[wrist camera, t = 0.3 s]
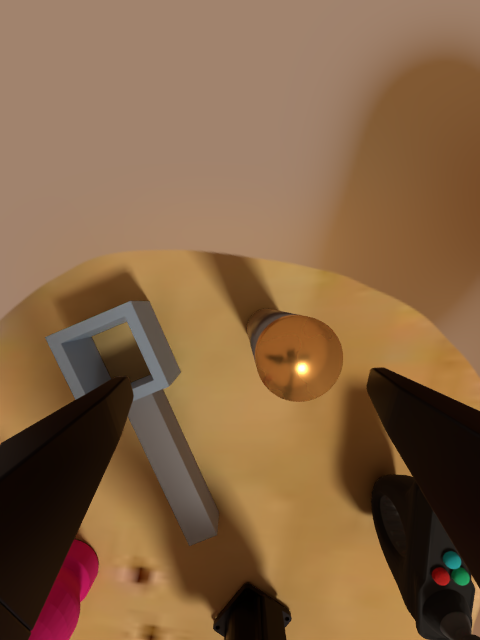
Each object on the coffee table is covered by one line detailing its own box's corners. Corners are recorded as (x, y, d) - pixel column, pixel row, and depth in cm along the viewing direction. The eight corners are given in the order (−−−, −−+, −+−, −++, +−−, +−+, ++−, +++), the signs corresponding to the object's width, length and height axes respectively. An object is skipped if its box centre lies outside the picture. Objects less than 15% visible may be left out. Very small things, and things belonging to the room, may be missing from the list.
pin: (269, 354, 24) (306, 418, 11) (238, 331, 23) (238, 367, 10) (293, 324, 23) (360, 351, 10) (262, 300, 23) (292, 298, 10)
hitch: (240, 504, 25) (240, 543, 21) (173, 530, 25) (160, 574, 21) (149, 301, 23) (130, 300, 19) (78, 331, 23) (45, 337, 19)
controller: (361, 539, 25) (440, 693, 15) (366, 432, 24) (455, 522, 14) (400, 539, 25) (504, 692, 15) (407, 432, 24) (523, 522, 14)
